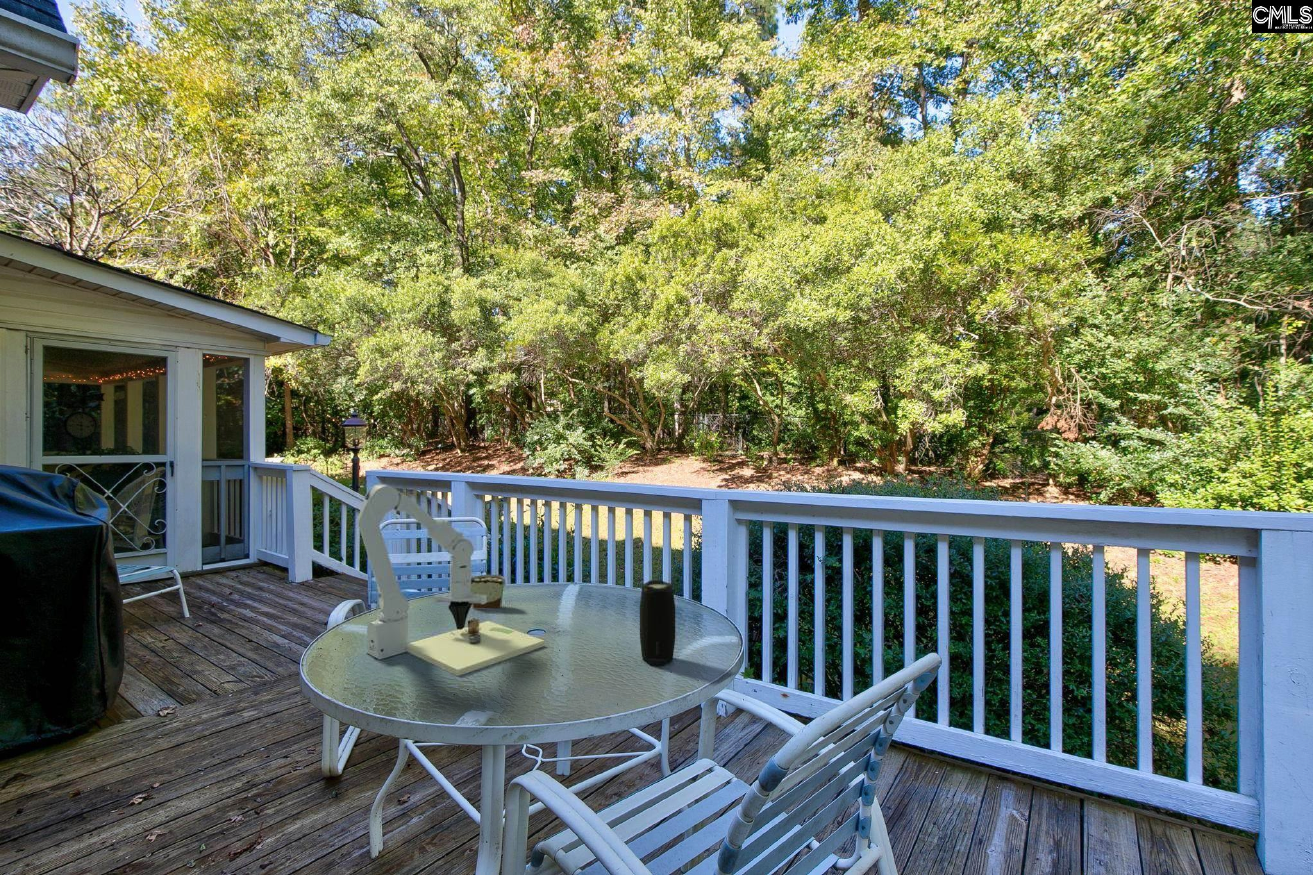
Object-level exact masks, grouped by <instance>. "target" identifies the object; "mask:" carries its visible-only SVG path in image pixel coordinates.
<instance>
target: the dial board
mask: <svg viewBox="0 0 1313 875" xmlns="http://www.w3.org/2000/svg"><path fill="white" fill-rule="evenodd" d="M476 634H479V635H481V642H479V643H469V636H471V635H472V634H469V633H468V626H466V627H464V628H463V629H462V630H458V629H455V630H452V631H449V632H448V631H447V632H445V633H442V634H441V633H440V634H438V635H437V634H436V635H434V636H430V637H427V638H423V639H420V640H416V641H412V642H408V644H407V645H406V649H407V650H408V651H407V652H406V653H409V654H411V655H413V656H415V657H416V658H419V659H421V660H424V661H425V662H427V663H430V664H432V665H433V666H436V667H438V668H439V669H441V670H444V671H446V672H449V673H451V674H453V675H455V676H456V677H459V676H462V675H464V674H467V673H471V672H474V671H476V670H479V669H482V668H485V667H489V666H491V665H493V664H494V665H495V664H497V663H500V662H502V661H505V660H508V659H511V658H514V657H517V656H519V655H522V654H525V653H529V652H531V651H535V650H536V649H539V648H543V647H545V640H544V639H540V638H538V637H535V636H532V635H529V634H526V633H525V632H524V633H523V632H521V631H519V630H515V629H512V628H510V627H507V626H504V625H502V624H500V623H499V624H498V623H495V622H493V621H490V620H487V621H484V622H479V632H478V633H476Z"/></svg>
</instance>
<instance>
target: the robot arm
mask: <svg viewBox="0 0 1313 875" xmlns="http://www.w3.org/2000/svg"><path fill="white" fill-rule="evenodd" d="M392 510H395V511H398V512H405V513H406V514H408V516H410V517H411V518H413V520H416V521H417V522H418V523H419V524H421V525H422V526H423V527H425V528H426V532H427V533H426V534H427V537H429V538H430V539H431V540H433V541H434V542H435V543H436V544H438V545H439V546H440V547H441V548H443V550H446V551H447V553H448V554H449V555H450V556H449V593H441V594H439V593H438V594H435V595H434V598H433V603H434V604H438V603H449V605H448V607H447V608H448V610H449V611H450V613H451V615H452V617H453V620H454V622H455V626H456V630H462V629H463V628H465V626H466V621H467V618H468V615H469V612H470V610H471V608H472V607H473V606H472V604H473V603H481V604H485V603H486V602H487V595H477V594H471V578H472V558H471V557H472V556H473V554H474V552H475V548H474V545H473V543H472V541H471V540H469V539H467V538H465V537H464V536H463V535H464V533H462V532H461V531H457V530H456V529H455V528H454V527H453V526H452V525H451V524H452V523H451V522H450V521H449V520H447V519H446V520H444V519H442V518H441V519H435V518H434V517H433V516H432V515H430V514H429V513H428V512H426V510H424V509H423V508H422V506H420V505H419V504H418V503H416V501H414V500H413V499H412V498H411V497H409V496H407V495H405V494H404V493H402V492H400V491H399V490H397V489H396V488H395V487H393V486H391V485H390V486H389V485H388V484H386V483H378V484H375V485H373V486H372V487H371V488H370V489H369V491H368V492H366V494H365V495H364V498H363V501H362V505H361V508H360V512H359V514H358V517H357V521H356V522H357V526H358V529H359V533H360V536H361V538H362V542H363V545H364V547H365V548H364V549H365V550H366V555H367V557H368V560H369V564H370V567H371V570H372V573H373V576H374V579H375V582H376V589H377V592H378V597H377V606H378V607H379V608H380V610H381V611H380V613H379V614H378V616H377V619H376V620H374V621H372V622H369V623H368V625H367V628H366V629H367V631H366V638H367V640H366V641H367V642H366V646H367V647H366V649H365V650H366V651H365V653H367V654H368V655H370V656H372V657H374V658H376V659H377V660H382V659H386V658H388V657H389V658H390V657H392V656H397V655H400V654H402V653H403V654H404V653H408V652H407V651H408V650H407V649H406V645H407V644H408V643H409V634H408V633H409V628H408V627H409V621H408V620H409V613H408V611H409V608H410V603H409V601H408V599H407V598H406V597H405V595H403V594H402V591H401V588H400V586H399V584H398V580H397V578H396V575H395V572H394V569H393V565H392V562H391V559H390V556H389V553H388V550H387V546H386V543H385V540H384V537H383V533H382V530H381V526H380V524H381V522H382V520H384V518H385V517H386V515H387V514H388V513H389V512H390V511H392Z"/></svg>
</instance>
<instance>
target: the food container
mask: <svg viewBox="0 0 1313 875" xmlns="http://www.w3.org/2000/svg"><path fill="white" fill-rule="evenodd" d="M506 584H507V583H506V578H505V577H504V576H503V575H500V574H499V575H498V574H482V575H477V576H473V577H472V576H471V594H477V595H487V602H486V603H485V604H481V603H473V604H472V606H471V607H472V610H502V605H503V597H504V596H503V594H504V586H506Z"/></svg>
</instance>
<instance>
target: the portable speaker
mask: <svg viewBox="0 0 1313 875" xmlns="http://www.w3.org/2000/svg"><path fill="white" fill-rule="evenodd" d="M673 586H674V584H673V583H671V582H667V581H664V580H661V579H650V580H648V581H647V582H645V583H642V587H641V591H640V592H641V594H640V600H639V641H640V642H639V643H640V652H641V659H642V661H643V660H644V661H646V662H647V663H648V665H649V666H651V667H662V665H663V666H665V664H666V663H668V662H669V661H670V660H671V661H673V659H674V652H675V644H676V602H675V595H674V594H675V593H674V589H673V588H674V587H673Z"/></svg>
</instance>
